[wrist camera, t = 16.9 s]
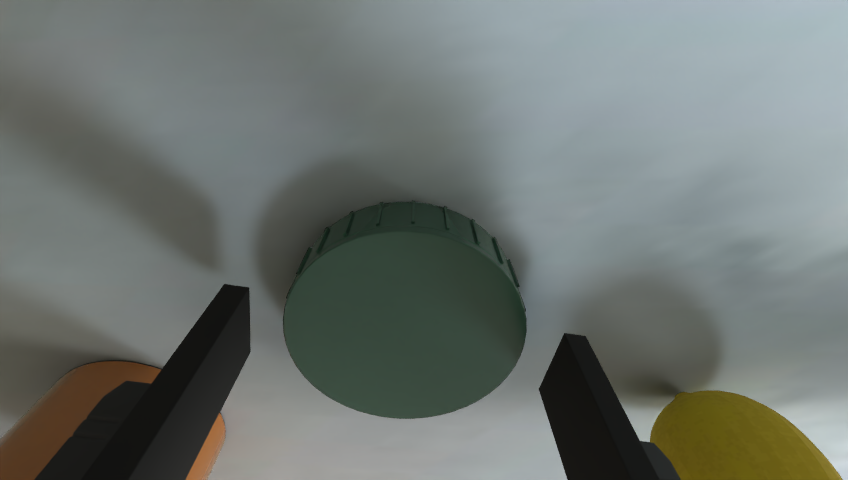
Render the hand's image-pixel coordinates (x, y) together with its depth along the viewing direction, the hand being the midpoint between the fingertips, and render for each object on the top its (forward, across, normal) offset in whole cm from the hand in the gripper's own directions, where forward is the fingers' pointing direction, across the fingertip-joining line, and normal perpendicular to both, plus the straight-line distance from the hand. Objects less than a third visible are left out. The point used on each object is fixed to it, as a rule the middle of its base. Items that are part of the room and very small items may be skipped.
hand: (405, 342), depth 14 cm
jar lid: (+1, 0, 0) cm, 1 cm away
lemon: (+3, +13, -3) cm, 14 cm away
